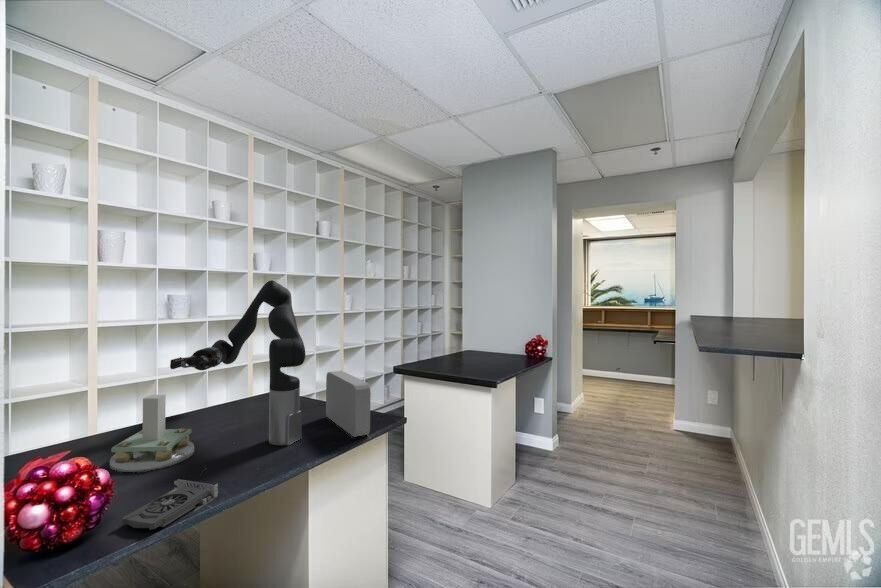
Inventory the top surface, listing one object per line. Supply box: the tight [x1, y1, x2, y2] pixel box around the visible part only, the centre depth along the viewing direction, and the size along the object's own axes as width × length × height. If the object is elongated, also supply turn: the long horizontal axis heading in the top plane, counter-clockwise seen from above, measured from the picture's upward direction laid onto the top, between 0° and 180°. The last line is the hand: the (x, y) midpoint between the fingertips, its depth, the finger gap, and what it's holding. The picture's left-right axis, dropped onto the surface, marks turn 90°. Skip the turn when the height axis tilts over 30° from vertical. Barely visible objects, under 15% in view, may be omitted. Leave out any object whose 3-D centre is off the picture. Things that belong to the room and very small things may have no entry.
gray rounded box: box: [325, 370, 372, 437], centre depth 148 cm, size 29×8×18 cm, turn 35°
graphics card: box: [121, 478, 219, 531], centre depth 91 cm, size 17×4×12 cm
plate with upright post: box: [110, 394, 192, 453], centre depth 119 cm, size 14×14×13 cm
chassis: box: [109, 427, 195, 474], centre depth 119 cm, size 20×20×6 cm
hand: (185, 365), depth 135 cm, fingers open, 8 cm apart
